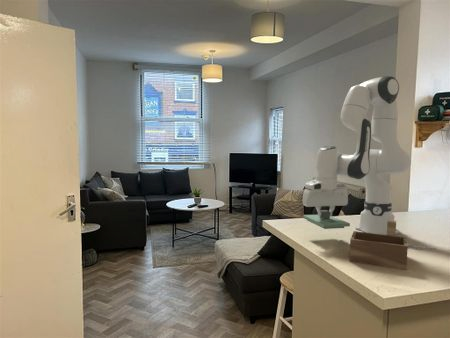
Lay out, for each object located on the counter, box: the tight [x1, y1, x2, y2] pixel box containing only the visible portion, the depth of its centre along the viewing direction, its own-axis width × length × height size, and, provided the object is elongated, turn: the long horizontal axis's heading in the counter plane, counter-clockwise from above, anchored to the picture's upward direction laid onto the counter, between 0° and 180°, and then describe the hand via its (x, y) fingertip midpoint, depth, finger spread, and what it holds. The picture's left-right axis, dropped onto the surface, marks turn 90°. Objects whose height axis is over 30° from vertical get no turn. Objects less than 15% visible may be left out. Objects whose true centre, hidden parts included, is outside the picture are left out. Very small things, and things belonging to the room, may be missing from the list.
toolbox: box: [349, 230, 409, 271], centre depth 127 cm, size 12×18×9 cm, turn 65°
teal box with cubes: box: [302, 209, 351, 230], centre depth 153 cm, size 12×18×6 cm, turn 15°
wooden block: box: [387, 220, 397, 236], centre depth 136 cm, size 3×3×13 cm
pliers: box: [407, 243, 438, 251], centre depth 144 cm, size 10×2×15 cm
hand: (324, 216), depth 153 cm, fingers closed on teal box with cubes, 3 cm apart
